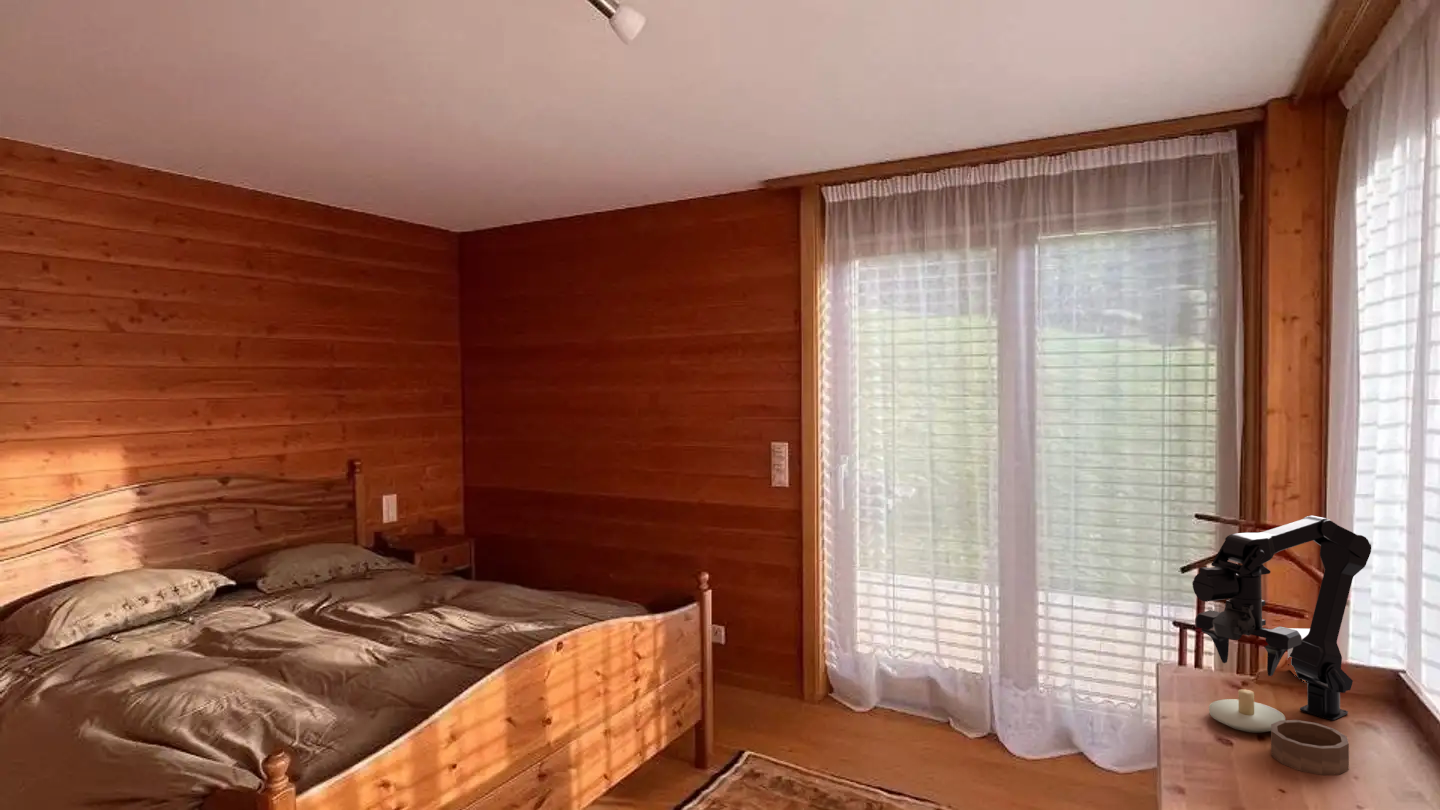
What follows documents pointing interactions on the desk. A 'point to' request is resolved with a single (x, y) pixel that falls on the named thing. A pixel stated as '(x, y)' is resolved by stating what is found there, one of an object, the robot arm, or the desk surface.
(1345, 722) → the desk surface
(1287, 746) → the box
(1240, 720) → the lid
